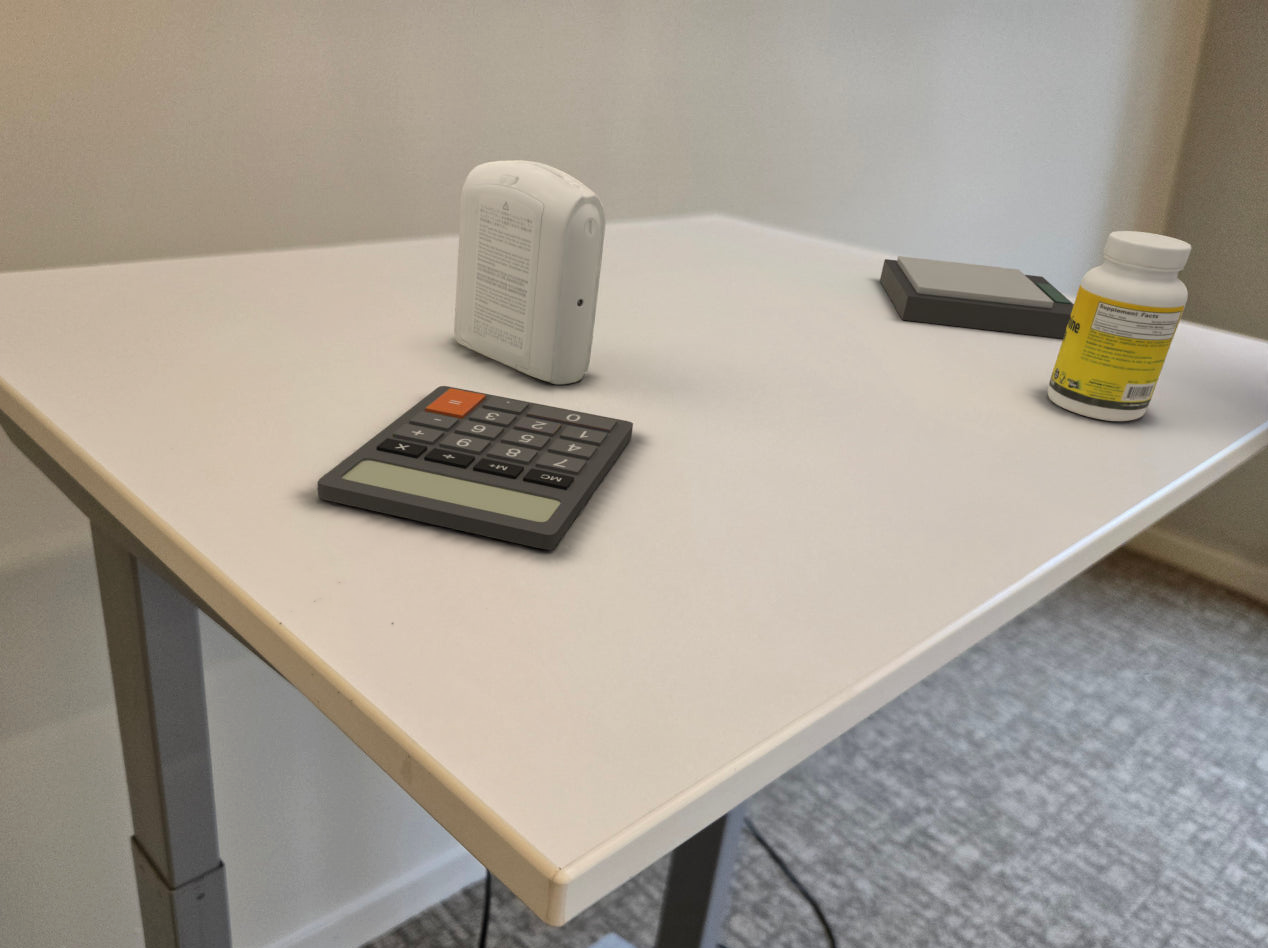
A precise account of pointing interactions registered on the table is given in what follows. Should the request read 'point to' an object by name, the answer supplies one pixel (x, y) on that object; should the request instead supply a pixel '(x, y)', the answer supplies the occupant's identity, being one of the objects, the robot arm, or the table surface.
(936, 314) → the scale
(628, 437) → the calculator
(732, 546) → the table surface
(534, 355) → the photo printer
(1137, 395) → the pill bottle
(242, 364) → the table surface
